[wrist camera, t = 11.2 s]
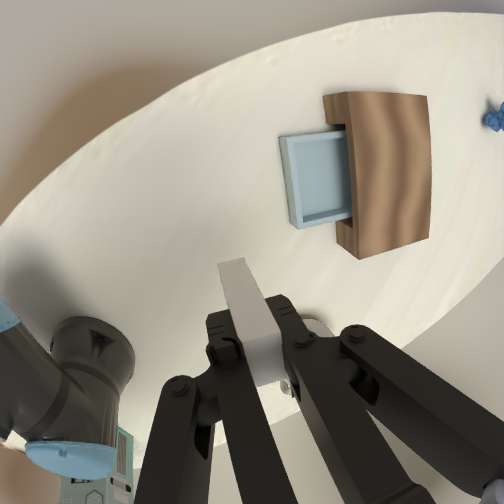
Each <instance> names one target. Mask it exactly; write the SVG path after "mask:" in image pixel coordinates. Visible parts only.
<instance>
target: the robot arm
mask: <svg viewBox="0 0 504 504" xmlns="http://www.w3.org/2000/svg"><path fill="white" fill-rule="evenodd" d="M217 266H218V270H219V274H220V278H221V282H222V286H223V290H224V294H225V298H226V302H227V306H228V309H227V310H223V311H219V312H215V313H211V314H209V315H208V317H207V320H206V327H207V333H208V339H209V343H208V345H207V346H206V354H207V356H208V359H209V361H210V364H211V365H210V367H209V368H208V370H206V371H205V372H204V373H203V374H201V375H199V376H197V377H195V378H191V377H189V376H185V375H180V376H175V377H173V378H171V379H169V380H168V381H167V382H166V383H165V384H164V386H163V388H162V391H161V395H160V398H159V402H158V406H157V409H156V413H155V417H154V420H153V424H152V428H151V432H150V436H149V440H148V444H147V448H146V452H145V456H144V460H143V464H142V468H141V472H140V477H139V481H138V486H137V490H136V495H135V499H134V504H208V494H209V483H210V473H211V461H212V451H213V442H214V433H215V423H217V422H218V421H220V420H222V422H223V426H224V431H225V435H226V440H227V444H228V448H229V452H230V456H231V461H232V465H233V469H234V473H235V476H236V481H237V484H238V488H239V492H240V496H241V499H242V503H243V504H298V502H297V499H296V497H295V494H294V491H293V489H292V486H291V484H290V481H289V479H288V476H287V473H286V471H285V468H284V465H283V463H282V460H281V457H280V454H279V452H278V449H277V447H276V444H275V441H274V438H273V435H272V432H271V430H270V427H269V424H268V421H267V418H266V415H265V413H264V410H263V407H262V404H261V401H260V398H259V395H258V392H257V389H256V387H259V386H262V385H266V384H269V383H273V382H276V381H279V380H282V379H286V378H287V375H288V377H289V379H290V386H291V394H292V398H293V397H295V398H296V400H297V402H298V405H299V407H300V409H301V411H302V413H303V416H304V418H305V420H306V422H307V424H308V426H309V429H310V431H311V433H312V435H313V437H314V440H315V442H316V444H317V446H318V448H319V450H320V452H321V455H322V457H323V459H324V461H325V463H326V465H327V467H328V469H329V472H330V474H331V476H332V478H333V480H334V482H335V484H336V486H337V488H338V491H339V493H340V494H341V497H342V499H343V501H344V503H345V504H436V503H435V501H434V500H433V498H432V497H431V495H430V493H429V492H428V491H427V490H426V488H424V487H423V486H422V485H419V484H416V483H414V482H412V481H411V479H410V478H409V477H408V475H407V473H406V472H405V470H404V469H403V467H402V465H401V464H400V462H399V461H398V459H397V458H396V456H395V454H394V453H393V451H392V450H391V448H390V447H389V445H388V443H387V442H386V440H385V439H384V437H383V435H382V434H381V432H380V431H379V429H378V428H377V426H376V424H375V423H374V421H373V420H372V418H371V417H370V415H369V414H368V412H367V411H369V412H370V413H371V414H372V415H373V416H374V417H375V418H376V419H377V420H379V421H380V422H381V423H382V424H383V425H384V426H386V428H388V429H389V430H390V431H391V432H392V433H393V434H394V435H396V436H397V437H398V438H399V439H400V440H401V441H402V442H404V443H405V444H406V445H407V446H408V447H409V448H411V449H412V450H413V451H414V452H415V453H416V454H418V455H419V456H420V457H421V458H422V459H423V460H425V461H426V462H427V463H428V464H430V465H431V466H432V467H433V468H434V469H435V470H437V471H438V472H439V473H440V474H441V475H443V476H444V477H445V478H446V479H448V480H449V481H450V482H451V483H453V484H454V485H455V486H456V487H458V488H459V489H461V490H462V491H464V492H466V493H468V494H470V495H472V496H475V497H478V498H481V501H480V503H479V504H504V422H503V421H502V420H500V419H499V418H497V417H496V416H495V415H493V414H492V413H490V412H489V411H488V410H486V409H485V408H483V407H482V406H480V405H479V404H478V403H476V402H475V401H473V400H472V399H470V398H469V397H468V396H466V395H465V394H463V393H462V392H460V391H459V390H457V389H456V388H455V387H453V386H452V385H450V384H449V383H448V382H446V381H444V380H443V379H442V378H440V377H439V376H437V375H436V374H435V373H433V372H432V371H430V370H429V369H427V368H426V367H425V366H423V365H422V364H420V363H419V362H417V361H416V360H415V359H413V358H412V357H410V356H409V355H407V354H406V353H404V352H403V351H402V350H400V349H399V348H397V347H396V346H394V345H393V344H391V343H390V342H389V341H387V340H386V339H384V338H383V337H381V336H380V335H378V334H377V333H376V332H374V331H373V330H371V329H370V328H368V327H366V326H364V325H358V324H357V325H350V326H348V327H345V328H344V329H343V330H342V331H341V334H340V336H336V337H319V336H318V335H317V334H316V333H315V332H312V331H310V330H308V328H307V327H306V325H305V323H304V322H303V320H302V319H301V317H300V316H299V314H298V312H296V309H295V308H294V306H293V305H292V303H291V301H290V300H289V299H288V298H287V297H285V296H283V295H281V294H280V295H277V296H273V297H269V298H266V299H264V297H263V295H262V293H261V291H260V289H259V287H258V285H257V283H256V281H255V279H254V277H253V275H252V273H251V271H250V269H249V267H248V265H247V263H246V261H245V259H244V258H240V259H236V260H232V261H228V262H224V263H220V264H217ZM50 352H51V353H50V355H49V354H48V353H47V352H46V351H45V350H44V348H43V347H42V346H41V345H40V344H39V343H38V342H37V340H36V339H35V338H34V337H33V336H32V335H31V333H30V332H29V331H28V330H27V329H26V327H25V326H24V325H23V324H22V322H21V319H20V317H17V316H16V315H15V314H14V313H13V311H12V310H11V309H10V308H9V307H8V305H7V304H6V303H5V302H4V300H3V299H2V298H1V297H0V442H6V440H7V438H8V436H9V434H10V433H11V431H12V430H14V431H15V432H16V433H17V434H19V435H20V436H21V437H22V438H24V439H25V440H26V441H27V443H26V444H25V452H26V455H27V456H28V457H29V458H30V460H31V461H32V462H34V463H35V464H37V465H38V466H40V467H42V468H44V469H46V470H49V471H51V472H53V473H56V474H59V475H63V476H66V477H71V478H76V479H85V480H95V479H102V478H105V477H107V476H109V475H110V474H111V473H112V471H113V467H114V459H115V454H116V451H117V450H116V440H117V422H118V408H119V399H120V395H121V393H122V392H123V390H124V388H125V386H126V384H127V383H128V382H129V380H130V379H131V377H132V375H133V371H134V363H135V356H134V352H133V349H132V347H131V345H130V343H129V342H128V340H127V339H126V338H125V337H124V336H123V335H122V334H121V333H120V332H119V331H118V330H117V329H115V328H114V327H112V326H111V325H109V324H107V323H105V322H103V321H100V320H97V319H94V318H89V317H73V318H69V319H67V320H65V321H63V322H62V323H60V324H59V325H58V327H57V328H56V330H55V332H54V334H53V336H52V339H51V343H50ZM286 372H287V375H286ZM366 410H367V411H366Z"/></svg>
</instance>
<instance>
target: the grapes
mask: <svg viewBox="0 0 504 504" xmlns="http://www.w3.org/2000/svg"><path fill="white" fill-rule="evenodd" d="M485 123H486V125H488V126H490V128H491V129H493V130H494V131H496V132H498V131H499V130H500V129H501V128H502V130H503V131H504V102H503V103H502V104H501V106H500V110H499V111H498V112H496V111H494V110H492V111H491V112H490V114H488V115H487V116H486V118H485Z"/></svg>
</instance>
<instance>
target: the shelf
mask: <svg viewBox="0 0 504 504" xmlns="http://www.w3.org/2000/svg"><path fill="white" fill-rule="evenodd" d="M323 102H324V108H325V115H326V123H327V124H345V126H346V135H347V144H348V154H349V165H350V178H351V194H352V214H353V217H350V218H346V219H341V220H337V221H336V234H337V243H338V244H339V245H340V246H342V247H343V248H344V249H345V250H347V251H348V252H349V253H351V254H352V255H353V256H354V257H356V258H357V259H358V260H361V259H364V258H367V257H370V256H374V255H377V254H380V253H383V252H386V251H390V250H393V249H396V248H399V247H402V246H405V245H408V244H411V243H414V242H417V241H421V240H424V239H427V238H429V228H430V213H431V184H432V167H431V138H430V124H429V113H428V103H427V96H423V95H413V94H401V93H385V92H342V93H337V94H331V95H326V96H323Z"/></svg>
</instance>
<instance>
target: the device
mask: <svg viewBox="0 0 504 504" xmlns="http://www.w3.org/2000/svg"><path fill="white" fill-rule="evenodd" d="M116 450H117V451H116V454H115V459H114V467H113V471H112V473H111V474H110V475H109V476H107V477H105V478H102V479H95V480H85V479H76V478H71V477H66V476H63V475H61V484H60V495H59V504H134V495H133V436H131V435H130V434H128V433H127V432H125V431H124V430H122V429H121V428H120V427H118V426H117V440H116Z"/></svg>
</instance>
